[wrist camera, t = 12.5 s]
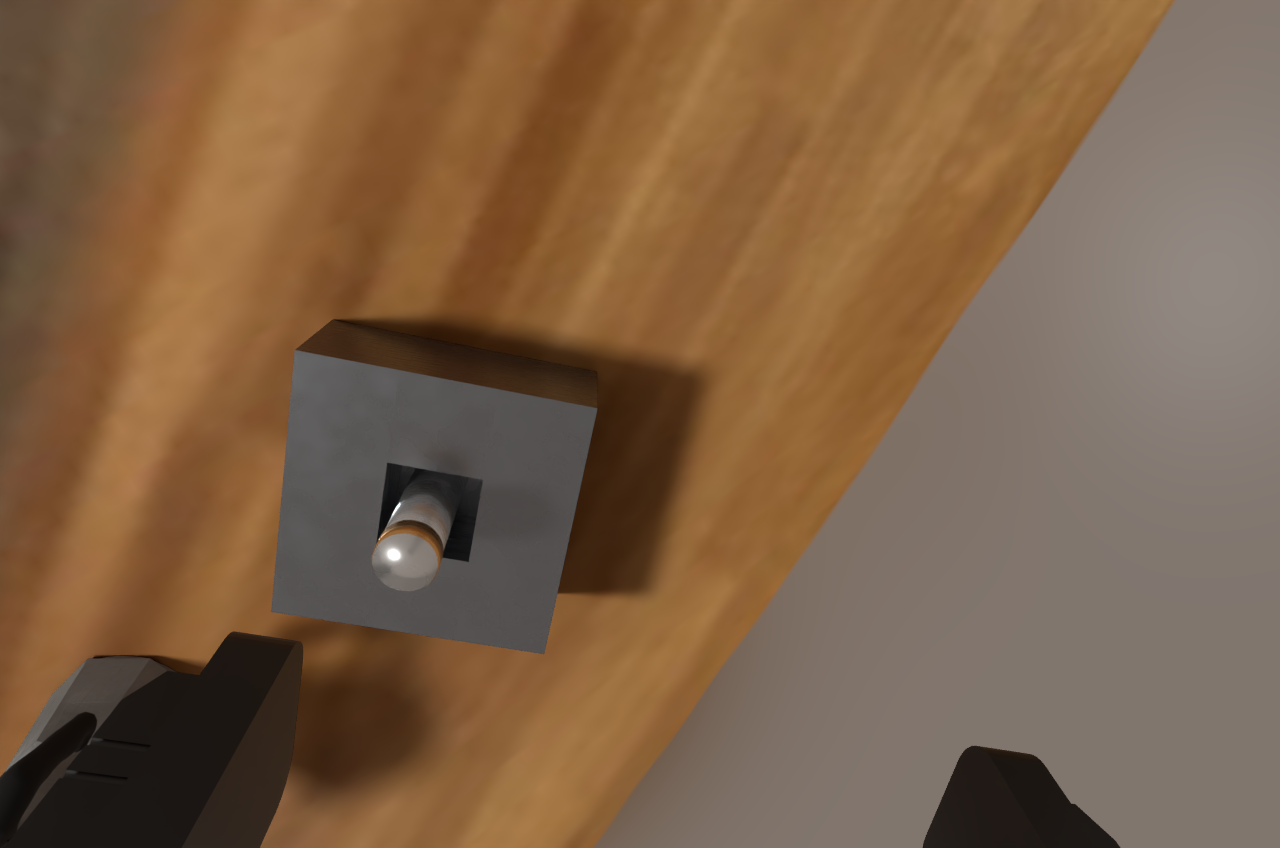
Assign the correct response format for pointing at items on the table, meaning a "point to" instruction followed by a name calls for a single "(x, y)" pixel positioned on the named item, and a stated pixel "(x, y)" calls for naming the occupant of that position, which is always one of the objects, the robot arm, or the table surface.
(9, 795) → the coffeepot
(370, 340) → the bore block
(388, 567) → the cylinder
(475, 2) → the table surface
